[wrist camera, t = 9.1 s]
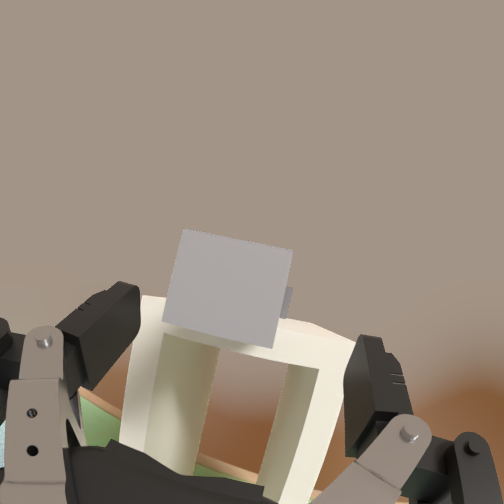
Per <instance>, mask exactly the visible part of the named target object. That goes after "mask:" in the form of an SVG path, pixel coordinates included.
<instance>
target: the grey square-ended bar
mask: <svg viewBox="0 0 504 504" xmlns="http://www.w3.org/2000/svg"><path fill="white" fill-rule="evenodd" d="M292 255H293V250H288V249H283V248H278V247H273V246H268V245H263V244H258V243H253V242H248V241H243V240H238V239H233V238H228V237H223V236H218V235H213V234H208V233H203V232H198V231H193V230H188V229H183V232H182V236H181V240H180V244H179V248H178V252H177V256H176V260H175V264H174V268H173V272H172V277H171V281H170V285H169V290H168V294H167V298H166V303H165V307H164V312H163V317H162V322H165V323H169V324H172V325H176V326H180V327H183V328H187V329H191V330H194V331H198V332H202V333H206V334H210V335H214V336H218V337H222V338H226V339H230V340H234V341H239V342H243V343H247V344H252V345H256V346H261V347H265V348H270V349H272V348H273V344H274V339H275V335H276V330H277V326H278V321H279V318H282V319H286V316H287V312H288V307H289V303H290V298H291V293H292V287H287V286H286V284H287V280H288V274H289V270H290V265H291V260H292Z"/></svg>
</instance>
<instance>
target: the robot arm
mask: <svg viewBox="0 0 504 504" xmlns="http://www.w3.org/2000/svg"><path fill="white" fill-rule="evenodd" d="M140 326H141V311H140V290H139V288H138V286H136V285H132V284H128V283H125V282H121V281H118V282H117V283H116V284H114V285H113V286H112V287H111V288H110V289H108V290H107V291H106V290H104V291H101V292H99V293H96V294H94V295H92V296H91V297H90V298H89V299H87V300H86V301H85V303H84V304H81V305H80V306H79V307H78V309H75V310H74V311H73V312H72V313H71V314H69V315H68V316H67V317H66V318H65V319H64V320H62V321H61V322H60V323H59V324H58V325H56V326H55V327H52V326H41V327H37V328H35V329H33V330H31V331H30V332H29V333H28V334H27V335H22V334H17V333H12V332H11V331H10V328H9V324H8V322H7V321H6V320H5V319H3V318H0V426H1V424H2V423H3V422H4V421H5V419H6V424H5V452H4V464H5V467H2V468H0V504H279V503H277V502H275V501H273V500H271V499H269V498H267V497H264V496H263V492H264V487H265V486H260V485H255V484H250V483H245V482H240V481H236V480H232V479H227V478H218V477H200V476H188V475H181V474H178V473H176V472H175V471H173V470H171V469H170V468H168V467H166V466H165V465H163V464H161V463H160V462H158V461H157V460H155V459H153V458H152V457H150V456H149V455H147V454H146V453H144V452H141V451H139V450H136V449H134V448H131V447H129V446H126V445H124V444H122V443H119V442H117V441H115V440H112V439H111V440H110V442H109V443H108V445H107V446H106V447H98V446H87V443H86V439H85V434H84V428H83V420H82V412H81V403H80V395H79V391H78V388H79V387H80V386H82V387H84V388H86V389H88V390H91V391H93V389H94V388H95V387H96V386H97V384H98V383H99V382H100V381H101V379H102V378H103V377H104V375H105V374H106V373H107V372H108V371H109V369H110V368H111V367H112V366H113V364H114V363H115V362H116V361H117V359H118V358H119V357H120V356H121V355H122V353H123V352H124V351H125V350H126V348H127V347H128V346H129V345H130V344H131V342H132V341H133V340H134V339H135V337H136V336H137V335H138V332H139V330H140ZM402 375H403V373H402V369H401V366H400V363H399V362H398V361H397V359H396V358H395V357H394V356H393V354H392V353H386V352H385V349H384V345H383V342H382V339H381V338H380V337H374V336H367V335H362V334H361V335H360V336H359V337H358V340H357V342H356V344H355V347H354V349H353V352H352V354H351V357H350V359H349V362H348V364H347V366H346V369H345V373H344V378H343V394H344V417H345V454H346V455H345V457H356V461H353V462H352V463H351V464H350V465H349V466H348V467H347V468H346V470H344V472H343V473H341V474H340V476H338V477H337V478H336V479H335V481H333V482H332V483H331V484H330V485H329V486H328V487H327V488H326V489H325V490H324V491H323V492H322V493H321V494H319V495H318V496H317V497H316V498H315V499H314V500H313V501H312V502H311V503H309V504H395V502H396V501H397V499H398V498H399V497H400V496H404V497H407V498H409V504H503V500H502V496H501V491H500V487H499V482H498V477H497V473H496V469H495V466H494V462H493V458H492V455H491V451H490V448H489V445H488V443H487V442H486V440H485V439H484V438H483V437H481V436H480V435H478V434H476V433H473V432H464V433H462V434H460V435H459V436H458V437H457V438H456V439H455V440H454V441H453V442H452V441H448V440H445V439H442V438H438V437H435V436H432V434H431V430H430V428H429V426H428V425H427V424H426V423H425V422H424V421H423V420H422V419H420V418H419V417H417V416H414V415H413V411H412V407H411V403H410V399H409V395H408V392H407V387H406V385H405V381H404V377H403V376H402Z"/></svg>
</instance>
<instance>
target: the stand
mask: <svg viewBox="0 0 504 504" xmlns="http://www.w3.org/2000/svg"><path fill="white" fill-rule="evenodd" d="M165 303H166V298H163V297H154V296H145V295H143V296H142V301H141V306H140V311H141V326H140V330H139V332H138V335H137V336H136V337H135V339H134V341H133V346H132V352H131V357H130V363H129V369H128V375H127V382H126V388H125V395H124V403H123V410H122V418H121V426H120V435H119V443H122V444H124V445H126V446H129V447H131V448H134V449H136V450H139V451H141V452H144V453H146V454H147V455H149V456H150V457H152V458H153V459H155V460H157V461H158V462H160V463H161V464H163V465H165V466H166V467H168V468H170V469H171V470H173V471H175V472H176V473H178V474H181V475H188V476H193V474H194V469H195V464H196V459H197V455H198V450H199V445H200V440H201V436H202V431H203V426H204V421H205V417H206V412H207V407H208V403H209V398H210V394H211V389H212V384H213V380H214V375H215V370H216V366H217V361H218V357H219V352H220V348H222V349H226V350H230V351H234V352H238V353H242V354H247V355H251V356H256V357H260V358H265V359H270V360H274V361H279V362H284V363H289V364H288V368H287V373H286V377H285V381H284V385H283V389H282V393H281V397H280V401H279V404H278V408H277V412H276V415H275V419H274V423H273V427H272V430H271V434H270V437H269V441H268V445H267V448H266V452H265V455H264V459H263V462H262V465H261V469H260V472H259V475H258V479H257V482H256V485H260V486H265V487H264V492H263V496H264V497H267V498H269V499H271V500H273V501H275V502H277V503H279V504H307V503H308V501H309V498H310V496H311V493H312V491H313V488H314V485H315V483H316V480H317V478H318V475H319V472H320V470H321V466H322V464H323V461H324V458H325V455H326V452H327V450H328V446H329V444H330V441H331V438H332V434H333V431H334V428H335V425H336V422H337V418H338V415H339V412H340V408H341V405H342V401H343V398H344V394H343V378H344V373H345V369H346V366H347V364H348V362H349V359H350V357H351V354H352V352H353V349H354V347H355V344H356V342H353V341H351V340H349V339H346V338H344V337H342V336H340V335H338V334H335V333H333V332H331V331H328V330H326V329H324V328H322V327H319V326H317V325H315V324H313V323H308V322H303V321H298V320H293V319H288V318H286V319H282V318H279V321H278V326H277V330H276V335H275V339H274V344H273V348H272V349H270V348H265V347H261V346H256V345H252V344H247V343H243V342H239V341H234V340H230V339H226V338H222V337H218V336H214V335H210V334H206V333H202V332H198V331H194V330H191V329H187V328H183V327H180V326H176V325H172V324H169V323H165V322H162V317H163V312H164V307H165Z"/></svg>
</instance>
